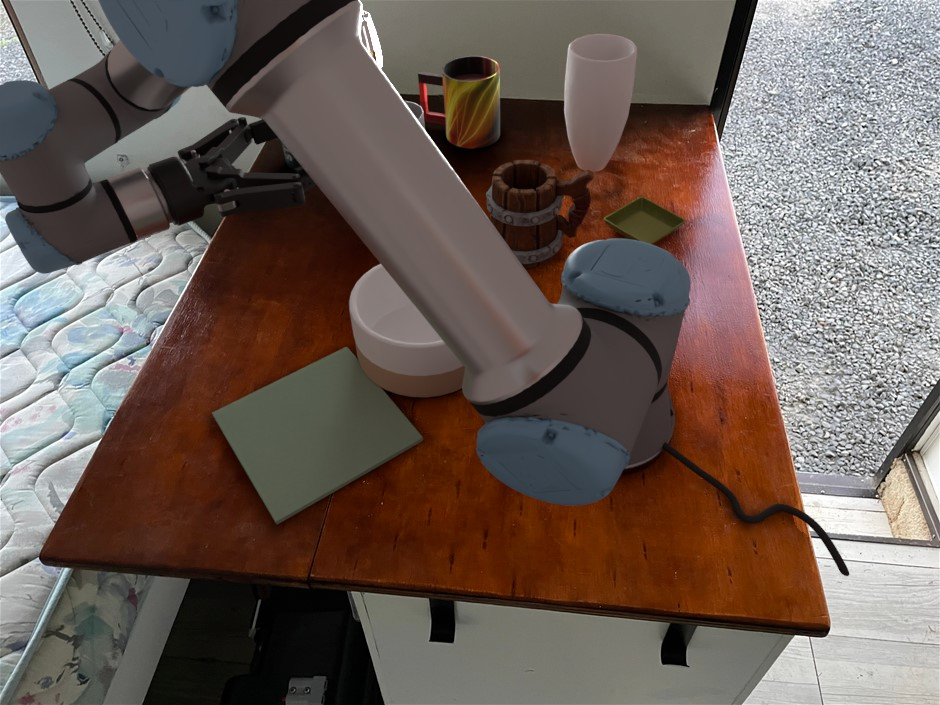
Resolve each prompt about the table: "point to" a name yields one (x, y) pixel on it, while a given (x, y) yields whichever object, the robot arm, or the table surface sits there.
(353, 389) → the mat
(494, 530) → the table surface
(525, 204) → the mug
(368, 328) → the bowl
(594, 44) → the cup
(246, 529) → the table surface
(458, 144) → the mug
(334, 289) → the table surface
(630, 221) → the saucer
